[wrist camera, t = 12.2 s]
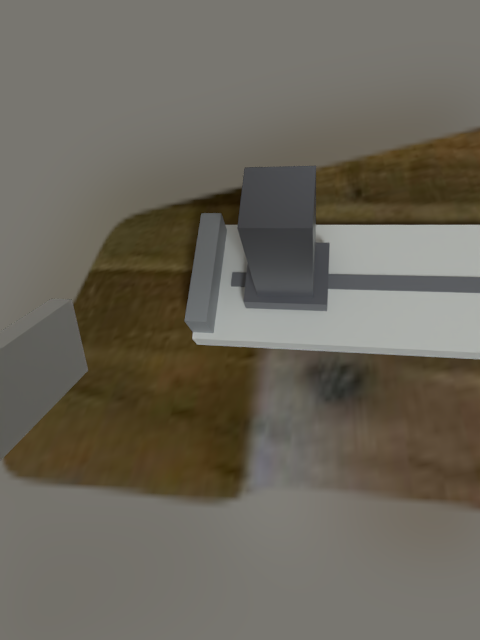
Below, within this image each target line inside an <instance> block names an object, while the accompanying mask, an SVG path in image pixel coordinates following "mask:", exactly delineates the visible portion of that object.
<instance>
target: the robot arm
mask: <svg viewBox="0 0 480 640" xmlns="http://www.w3.org/2000/svg"><path fill="white" fill-rule="evenodd" d="M87 371H88V368H87V364H86V360H85V355H84V351H83V346H82V342H81V338H80V333H79V329H78V325H77V320H76V316H75V311H74V307H73V303H72V299H50V300H48V301H47V302H45V303H44V304H42V305H41V306H39V307H38V308H36V309H35V310H33V311H31V312H30V313H28V314H27V315H25V316H24V317H22V318H20V319H19V320H17V321H16V322H14V323H13V324H11V325H10V326H8V327H7V328H5V329H3V330H2V331H0V461H1V459H2V458H3V457H4V456H5V455H6V454H7V453H8V452H9V451H10V450H11V449H12V448H13V447H14V446H15V445H16V444H17V443H18V442H19V441H20V440H21V439H22V438H23V437H24V436H25V435H26V434H27V433H28V432H29V431H30V430H31V429H32V428H33V427H34V426H35V425H36V423H37V422H38V421H39V420H40V419H41V418H42V417H43V416H44V415H45V414H46V413H47V412H48V411H49V410H50V409H51V408H52V407H53V406H54V405H55V404H56V403H57V402H58V401H59V400H60V399H61V398H62V397H63V396H64V395H65V394H66V393H67V392H68V391H69V390H70V389H71V388H72V386H73V385H74V384H75V383H76V382H77V381H78V380H79V379H80V378H81V377H82V376H83V375H84V374H85V373H86V372H87Z"/></svg>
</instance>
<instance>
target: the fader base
mask: <svg viewBox="0 0 480 640" xmlns="http://www.w3.org/2000/svg"><path fill="white" fill-rule="evenodd" d="M237 227H238V225H225V223H224V220H223V217H222V214H221V213H201V219H200V225H199V231H198V238H197V244H196V251H195V257H194V263H193V270H192V276H191V283H190V289H189V295H188V302H187V308H186V315H185V322H186V324H187V325H188V326H189V328H190V329H191V330H192V331H193V337H192V339H193V340H194V341H195V342H196V344H198V345H217V346H236V347H255V348H274V349H293V350H312V351H331V352H351V353H370V354H389V355H408V356H427V357H446V358H465V359H480V225H316V242H318V243H330V247H329V274H328V301H327V311H310V310H282V309H254V308H246V307H245V305H244V302H243V301H244V292H245V283H246V273H247V264H248V262H247V259H246V256H245V252H244V249H243V245H242V242H241V239H240V235H239V232H238V229H237Z"/></svg>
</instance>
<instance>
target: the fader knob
mask: <svg viewBox="0 0 480 640" xmlns="http://www.w3.org/2000/svg"><path fill="white" fill-rule="evenodd" d="M237 229H238V232H239V235H240V239H241V242H242V245H243V249H244V252H245V256H246V259H247V262H248V264H247V273H246V283H245V292H244V301H243V302H244V305H245V307H246V308H254V309H282V310H310V311H327V301H328V274H329V247H330V243H318V242H316V166H293V167H292V166H291V167H290V166H288V167H249V168H245V169H244V177H243V186H242V194H241V202H240V210H239V219H238V227H237Z"/></svg>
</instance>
